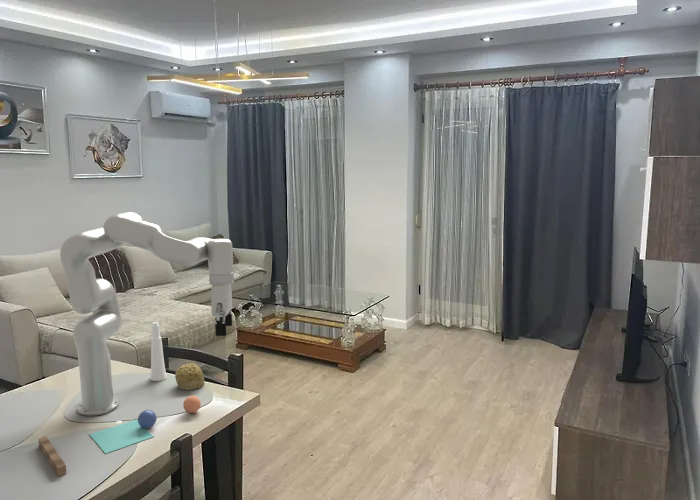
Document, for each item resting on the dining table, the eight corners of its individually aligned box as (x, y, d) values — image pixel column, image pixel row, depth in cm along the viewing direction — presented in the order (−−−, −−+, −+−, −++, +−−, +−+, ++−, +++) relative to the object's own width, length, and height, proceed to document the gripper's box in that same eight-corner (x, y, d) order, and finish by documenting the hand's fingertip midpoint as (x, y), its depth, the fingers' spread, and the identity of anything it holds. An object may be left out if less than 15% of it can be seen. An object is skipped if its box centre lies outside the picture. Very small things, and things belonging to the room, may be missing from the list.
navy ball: (135, 426, 168) (134, 410, 167) (152, 421, 172) (151, 405, 171) (142, 433, 164) (141, 416, 163) (159, 427, 168) (158, 411, 167)
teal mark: (89, 435, 163) (89, 434, 163) (135, 420, 173) (135, 419, 172) (105, 453, 153) (105, 453, 153) (153, 437, 162) (153, 436, 162)
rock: (190, 401, 194) (203, 379, 192) (165, 384, 195) (178, 362, 193) (202, 392, 203) (214, 370, 202) (177, 375, 204) (190, 354, 202)
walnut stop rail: (39, 446, 157) (38, 438, 156) (46, 443, 158) (45, 436, 158) (58, 476, 142) (57, 467, 142) (66, 473, 144) (65, 465, 143)
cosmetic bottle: (153, 374, 208) (150, 320, 204) (169, 375, 208) (166, 320, 204) (147, 381, 202) (143, 325, 198) (163, 381, 202) (160, 325, 198)
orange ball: (180, 411, 178) (180, 396, 177) (196, 406, 182) (195, 391, 181) (188, 417, 174) (187, 402, 173) (204, 412, 178) (203, 396, 177)
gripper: (215, 272, 177) (218, 322, 180) (202, 285, 160) (206, 340, 163) (238, 272, 177) (240, 322, 180) (228, 284, 160) (231, 339, 163)
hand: (224, 330), depth 171 cm, fingers open, 9 cm apart
